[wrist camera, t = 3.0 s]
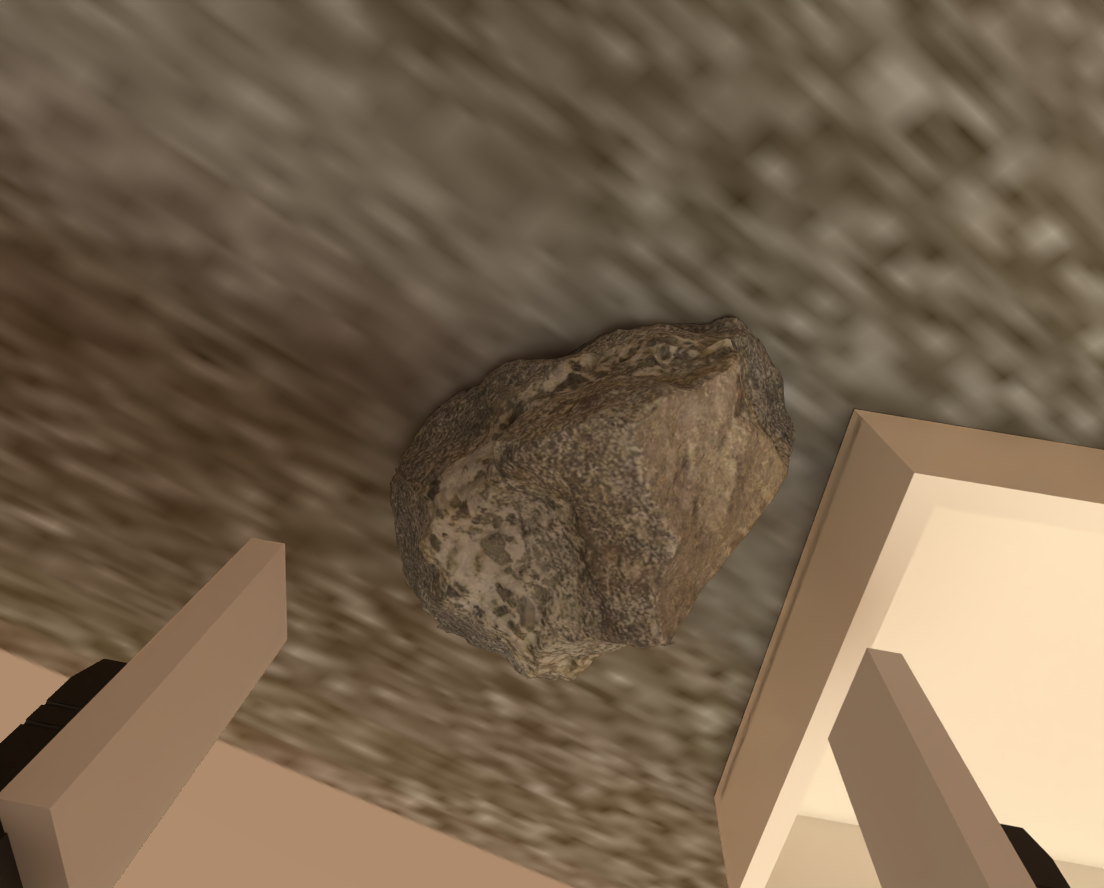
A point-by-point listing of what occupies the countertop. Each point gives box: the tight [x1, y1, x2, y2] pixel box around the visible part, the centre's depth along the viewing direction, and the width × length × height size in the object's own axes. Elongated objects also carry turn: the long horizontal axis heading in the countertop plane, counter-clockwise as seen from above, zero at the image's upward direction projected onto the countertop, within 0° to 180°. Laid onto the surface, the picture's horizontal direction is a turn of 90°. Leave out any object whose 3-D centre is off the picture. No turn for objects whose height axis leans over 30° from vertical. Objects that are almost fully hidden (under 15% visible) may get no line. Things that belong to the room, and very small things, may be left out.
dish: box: [714, 409, 1104, 888], centre depth 22 cm, size 18×18×4 cm
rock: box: [390, 317, 795, 681], centre depth 19 cm, size 13×9×6 cm, turn 138°
